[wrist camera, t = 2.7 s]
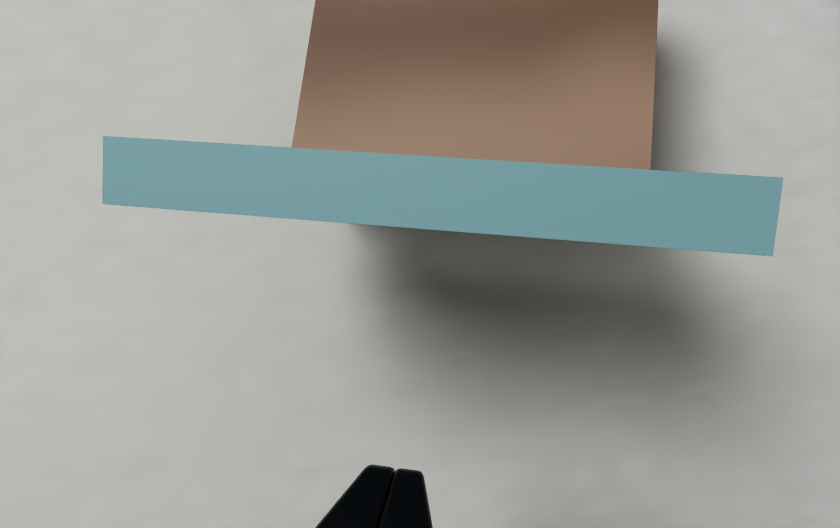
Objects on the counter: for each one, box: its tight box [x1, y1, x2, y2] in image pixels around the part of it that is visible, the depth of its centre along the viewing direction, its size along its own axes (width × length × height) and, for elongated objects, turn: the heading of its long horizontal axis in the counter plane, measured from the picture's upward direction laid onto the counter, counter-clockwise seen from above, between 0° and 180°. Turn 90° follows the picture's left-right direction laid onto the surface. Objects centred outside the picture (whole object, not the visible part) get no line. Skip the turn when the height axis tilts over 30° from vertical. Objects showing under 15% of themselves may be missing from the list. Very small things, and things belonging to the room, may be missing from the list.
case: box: [292, 0, 658, 170], centre depth 19 cm, size 7×9×5 cm
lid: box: [103, 136, 783, 256], centre depth 12 cm, size 7×9×1 cm
